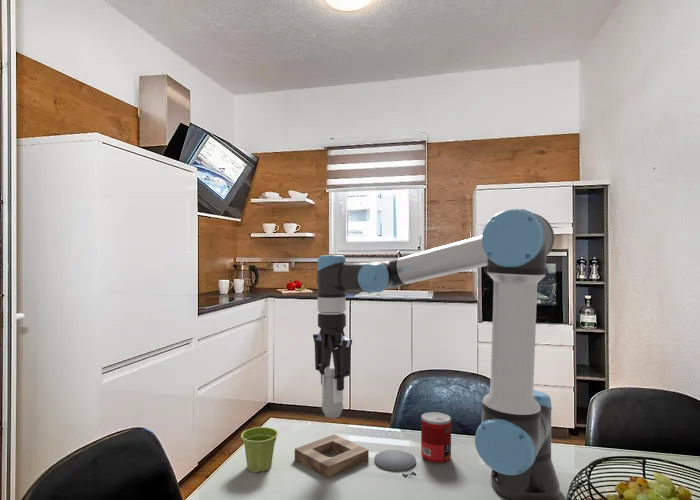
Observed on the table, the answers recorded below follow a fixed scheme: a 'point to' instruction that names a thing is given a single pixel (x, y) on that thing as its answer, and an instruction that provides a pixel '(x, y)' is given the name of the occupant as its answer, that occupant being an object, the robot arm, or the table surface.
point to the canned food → (436, 437)
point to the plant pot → (259, 447)
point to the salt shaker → (330, 396)
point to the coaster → (395, 460)
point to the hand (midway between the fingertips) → (332, 399)
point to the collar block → (330, 467)
